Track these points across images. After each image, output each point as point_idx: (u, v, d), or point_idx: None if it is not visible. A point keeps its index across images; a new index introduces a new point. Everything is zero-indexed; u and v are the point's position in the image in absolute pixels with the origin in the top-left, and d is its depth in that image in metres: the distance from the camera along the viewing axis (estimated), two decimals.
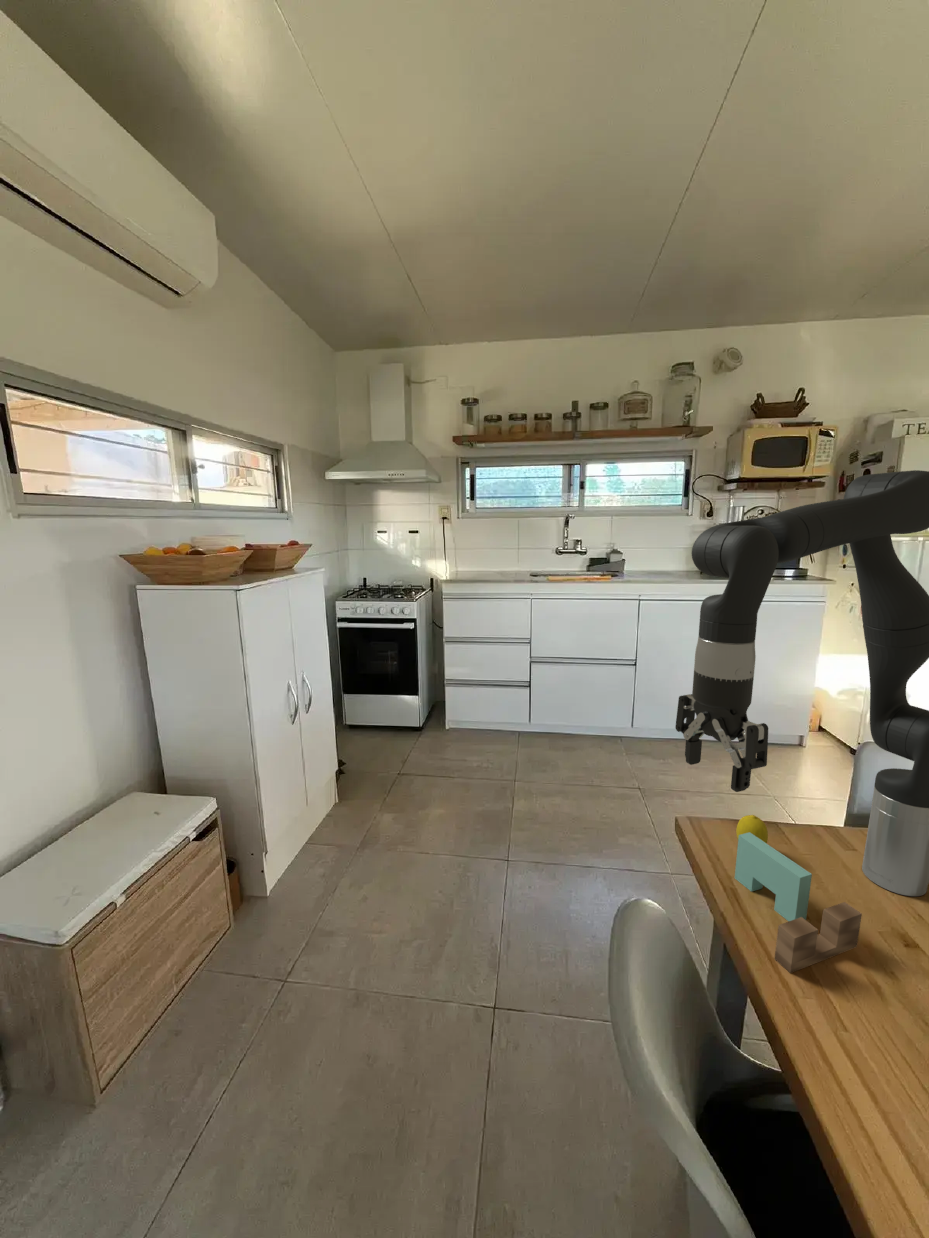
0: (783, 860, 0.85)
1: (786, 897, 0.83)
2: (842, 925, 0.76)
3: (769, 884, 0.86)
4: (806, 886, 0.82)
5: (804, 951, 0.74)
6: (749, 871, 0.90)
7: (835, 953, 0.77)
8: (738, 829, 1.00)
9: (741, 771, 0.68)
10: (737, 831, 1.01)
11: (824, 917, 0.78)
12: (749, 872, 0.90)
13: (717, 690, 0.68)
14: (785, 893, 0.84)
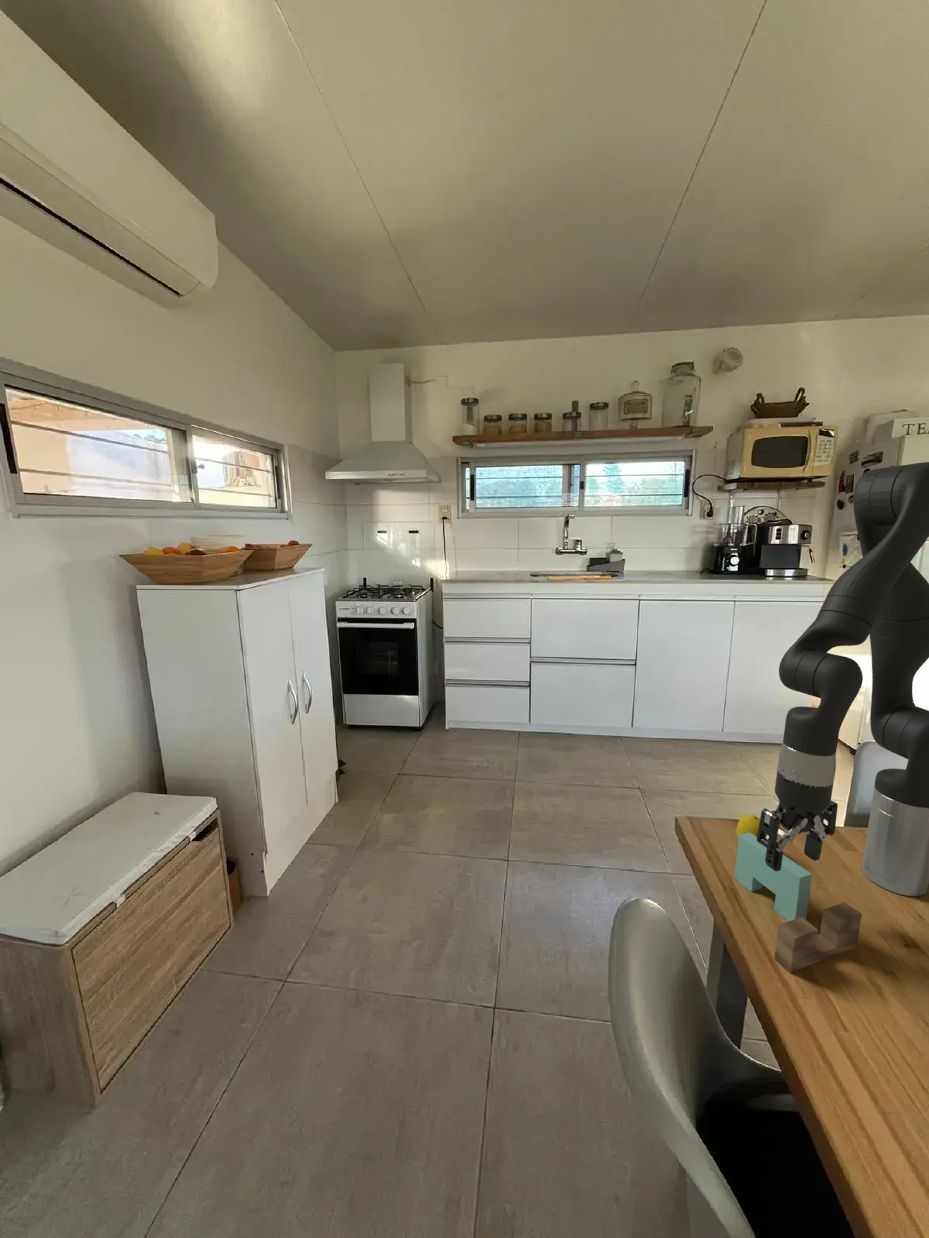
0: (783, 860, 0.85)
1: (786, 897, 0.83)
2: (842, 925, 0.76)
3: (769, 884, 0.86)
4: (806, 886, 0.82)
5: (804, 951, 0.74)
6: (749, 871, 0.90)
7: (835, 953, 0.77)
8: (738, 829, 1.00)
9: None
10: (737, 831, 1.01)
11: (824, 917, 0.78)
12: (749, 872, 0.90)
13: None
14: (785, 893, 0.84)
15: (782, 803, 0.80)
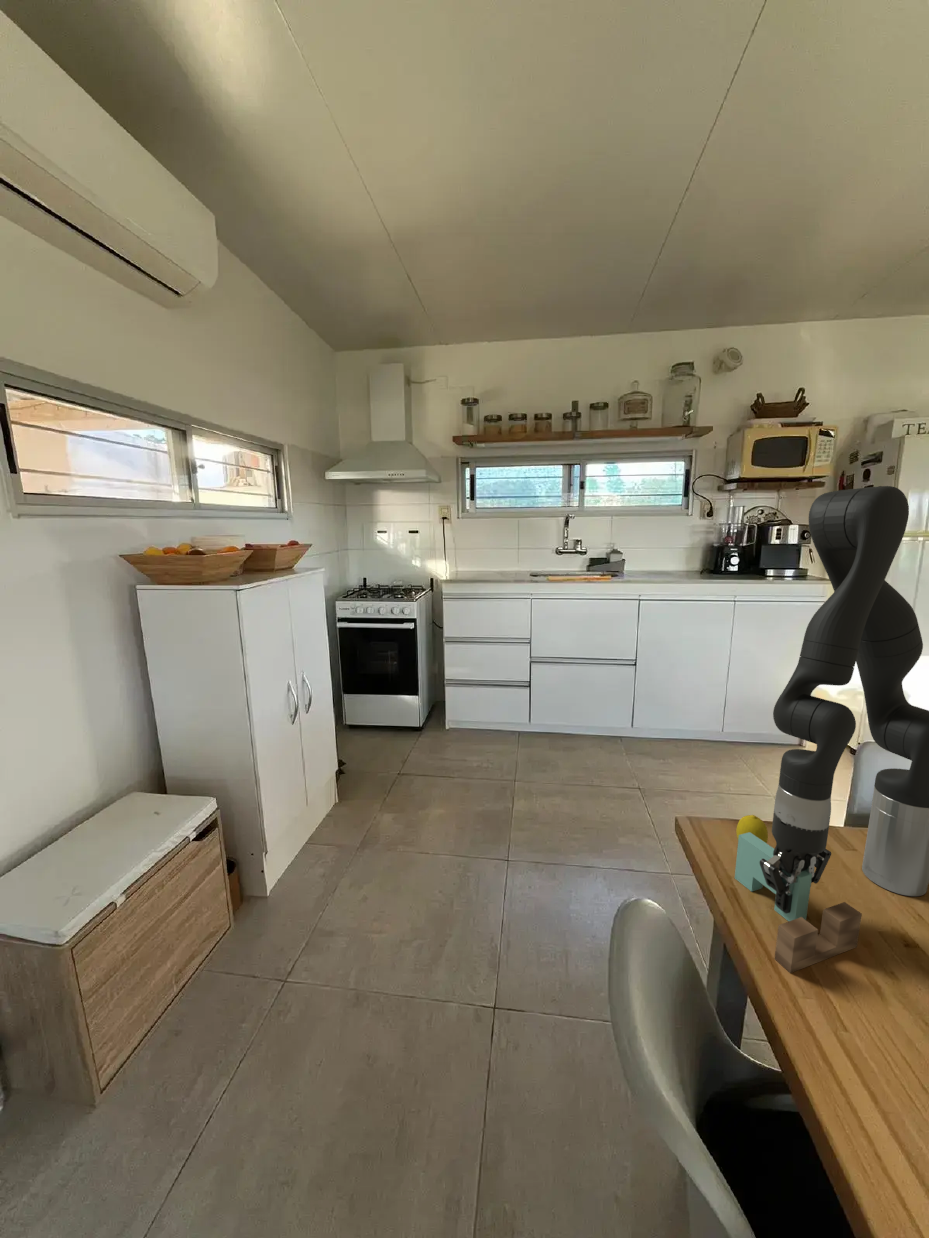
0: None
1: None
2: (842, 925, 0.76)
3: None
4: (806, 886, 0.82)
5: (804, 951, 0.74)
6: (749, 871, 0.90)
7: (835, 953, 0.77)
8: (738, 829, 1.00)
9: None
10: (737, 831, 1.01)
11: (824, 917, 0.78)
12: (749, 872, 0.90)
13: (827, 833, 0.79)
14: None
15: (779, 845, 0.81)
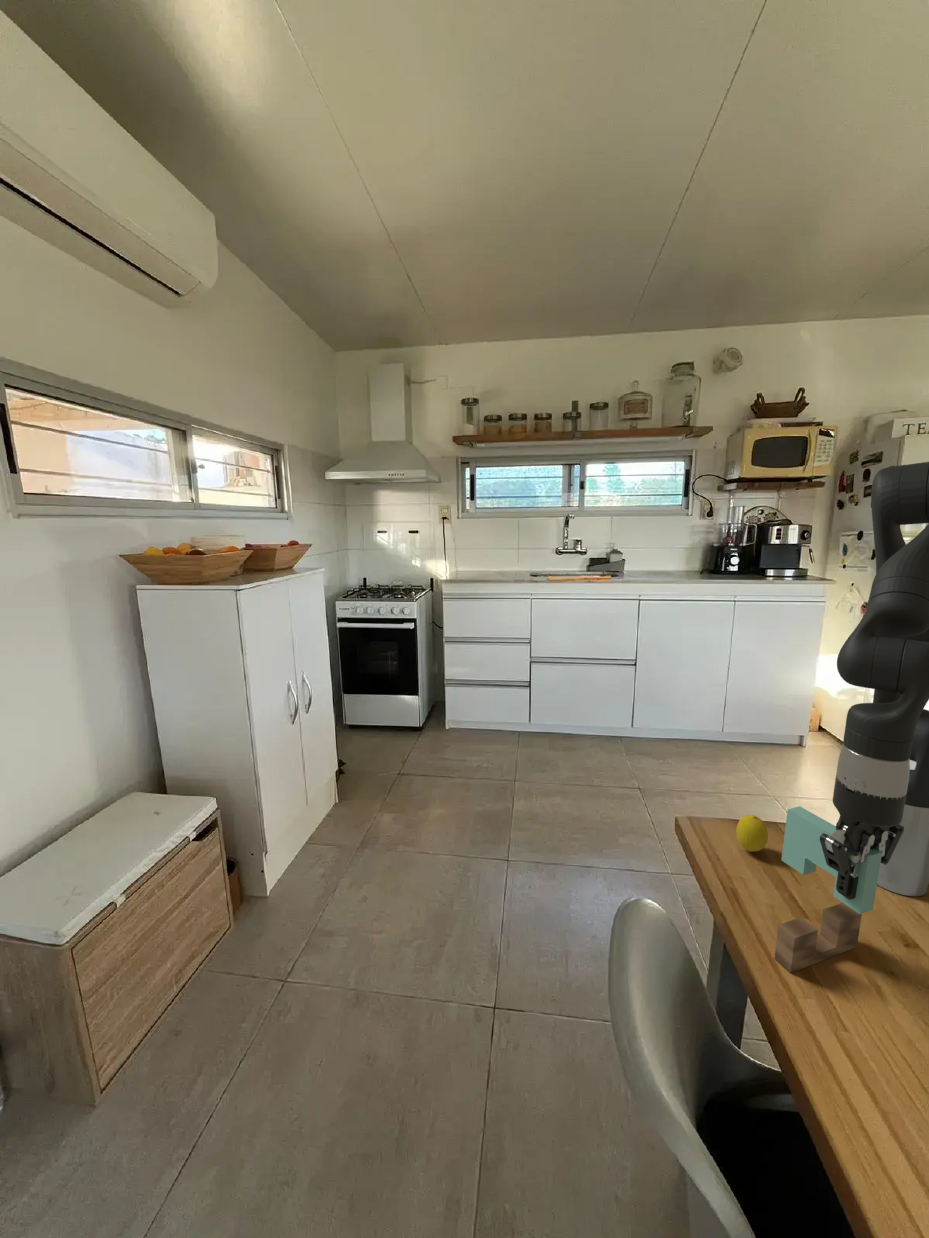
0: None
1: None
2: (842, 925, 0.76)
3: (827, 865, 0.73)
4: (875, 867, 0.68)
5: (804, 951, 0.74)
6: (800, 851, 0.77)
7: (835, 953, 0.77)
8: (738, 829, 1.00)
9: None
10: (737, 831, 1.01)
11: (824, 917, 0.78)
12: (800, 852, 0.77)
13: None
14: None
15: (844, 817, 0.68)
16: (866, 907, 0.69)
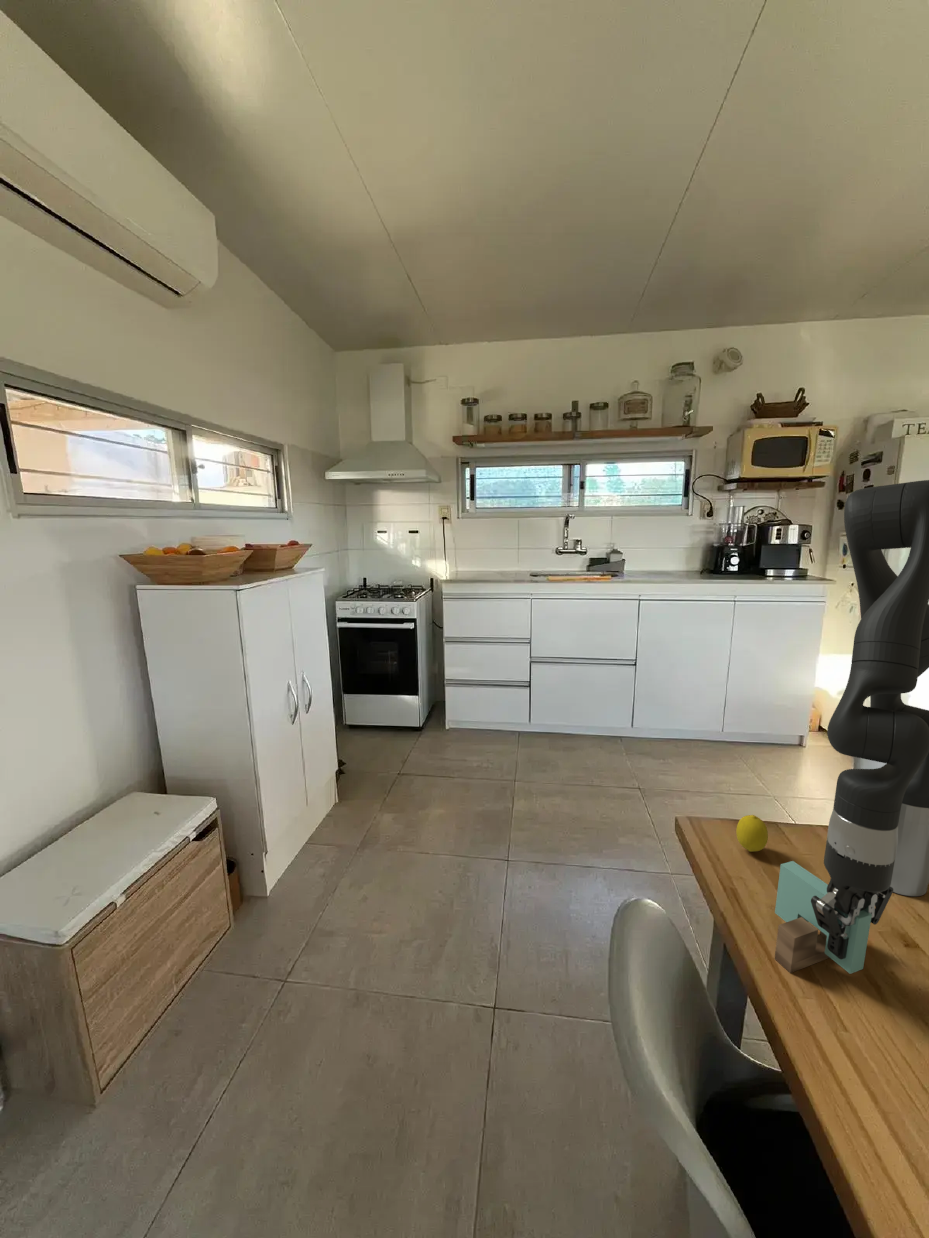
0: None
1: None
2: None
3: None
4: (864, 929, 0.70)
5: (804, 951, 0.74)
6: (793, 906, 0.79)
7: None
8: (738, 829, 1.00)
9: None
10: (737, 831, 1.01)
11: None
12: (793, 907, 0.79)
13: None
14: None
15: (834, 880, 0.70)
16: (856, 967, 0.71)
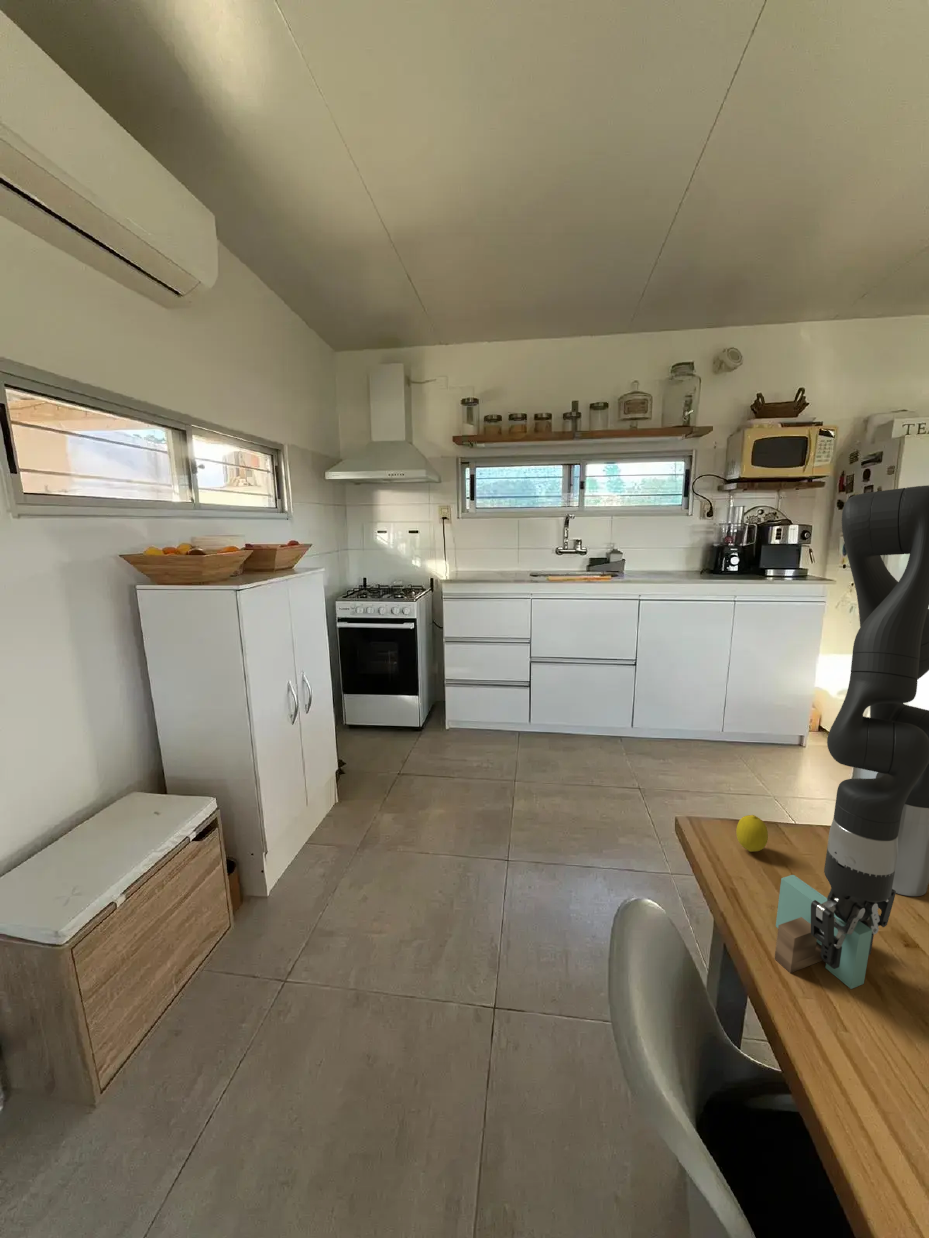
0: None
1: (841, 955, 0.72)
2: None
3: None
4: (865, 944, 0.70)
5: (804, 951, 0.74)
6: None
7: None
8: (738, 829, 1.00)
9: (872, 933, 0.73)
10: (737, 831, 1.01)
11: None
12: None
13: (893, 878, 0.68)
14: None
15: (835, 890, 0.70)
16: (857, 982, 0.71)
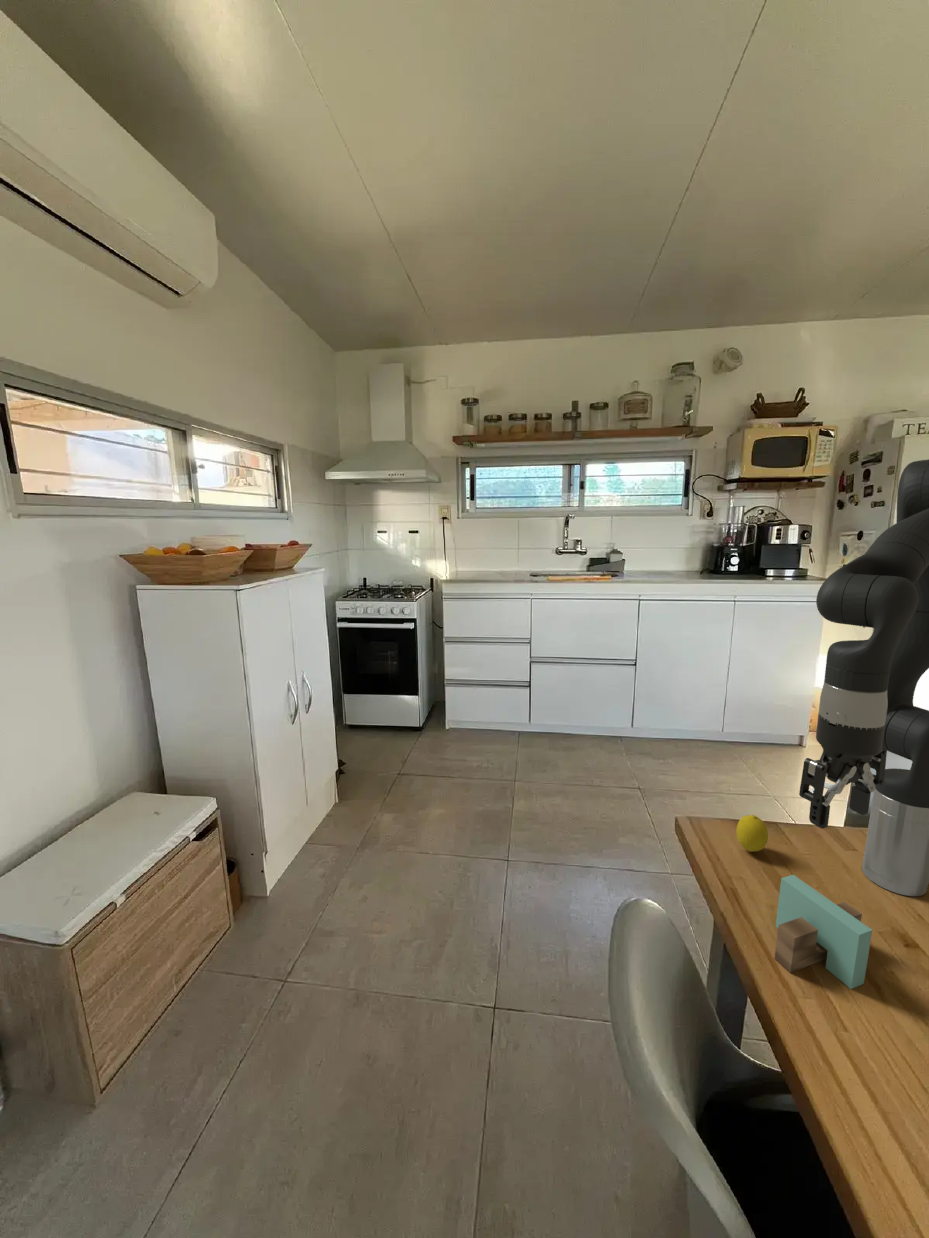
0: (836, 911, 0.74)
1: (841, 955, 0.72)
2: None
3: (819, 938, 0.75)
4: (865, 944, 0.70)
5: (804, 951, 0.74)
6: None
7: None
8: (738, 829, 1.00)
9: None
10: (737, 831, 1.01)
11: None
12: None
13: None
14: (840, 950, 0.72)
15: (827, 751, 0.70)
16: (857, 982, 0.71)
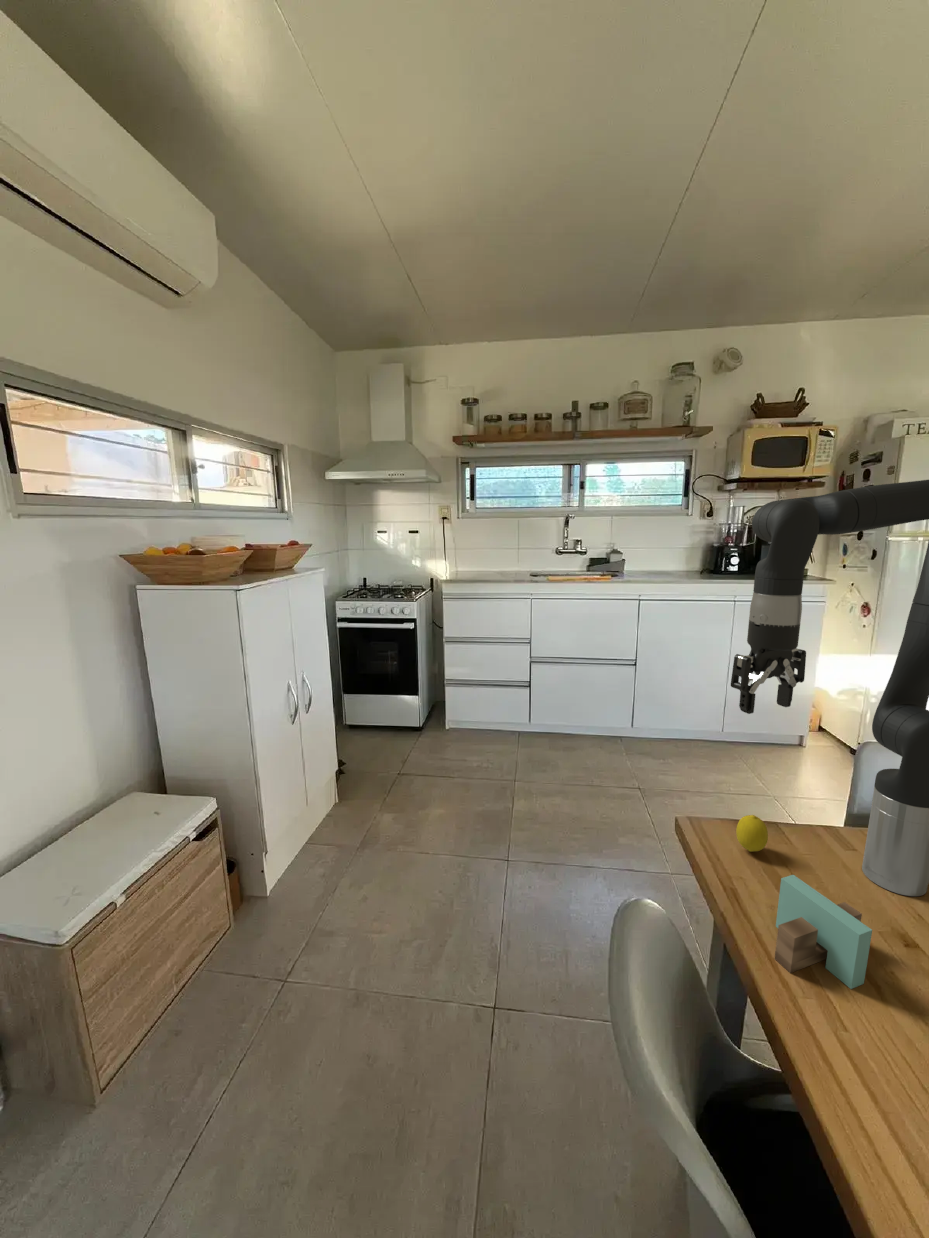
0: (836, 911, 0.74)
1: (841, 955, 0.72)
2: None
3: (819, 938, 0.75)
4: (865, 944, 0.70)
5: (804, 951, 0.74)
6: None
7: None
8: (738, 829, 1.00)
9: (791, 689, 0.89)
10: (737, 831, 1.01)
11: None
12: None
13: None
14: (840, 950, 0.72)
15: (753, 648, 0.85)
16: (857, 982, 0.71)
